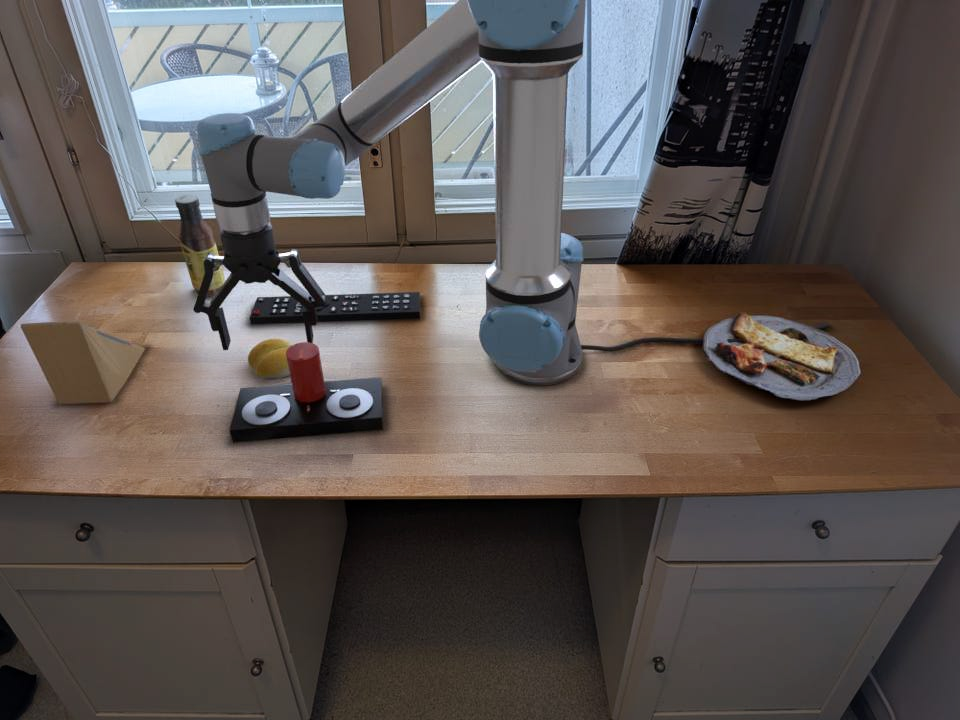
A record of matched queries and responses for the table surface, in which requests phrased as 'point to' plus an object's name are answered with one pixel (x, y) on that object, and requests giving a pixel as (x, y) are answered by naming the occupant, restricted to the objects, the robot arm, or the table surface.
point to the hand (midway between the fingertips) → (269, 343)
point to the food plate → (781, 356)
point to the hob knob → (306, 372)
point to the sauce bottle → (197, 243)
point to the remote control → (339, 308)
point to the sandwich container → (81, 360)
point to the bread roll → (270, 359)
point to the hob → (308, 413)
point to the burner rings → (278, 407)
